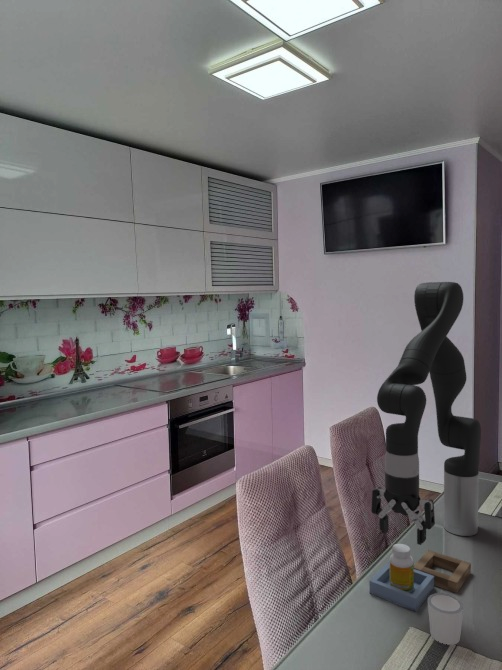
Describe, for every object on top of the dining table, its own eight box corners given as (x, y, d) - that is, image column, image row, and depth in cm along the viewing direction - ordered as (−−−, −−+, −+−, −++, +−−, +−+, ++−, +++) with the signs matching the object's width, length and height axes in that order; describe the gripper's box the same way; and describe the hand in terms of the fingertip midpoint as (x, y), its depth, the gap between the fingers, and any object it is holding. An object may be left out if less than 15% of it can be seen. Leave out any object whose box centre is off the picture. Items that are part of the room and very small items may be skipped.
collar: (428, 559, 129) (428, 549, 129) (470, 572, 123) (470, 563, 122) (412, 577, 121) (412, 567, 121) (456, 593, 115) (456, 582, 114)
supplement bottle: (415, 595, 113) (415, 554, 112) (391, 593, 114) (390, 553, 113) (412, 581, 118) (411, 542, 117) (388, 580, 119) (388, 541, 118)
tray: (390, 572, 124) (390, 560, 124) (434, 588, 117) (434, 576, 116) (369, 593, 115) (369, 580, 115) (415, 611, 108) (415, 598, 108)
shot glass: (460, 651, 96) (460, 617, 96) (423, 639, 100) (423, 606, 99) (465, 631, 102) (466, 598, 101) (431, 620, 106) (431, 588, 105)
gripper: (439, 471, 112) (439, 540, 113) (380, 459, 121) (380, 522, 122) (426, 482, 106) (426, 554, 108) (365, 468, 115) (366, 535, 117)
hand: (402, 537), depth 115 cm, fingers open, 8 cm apart
